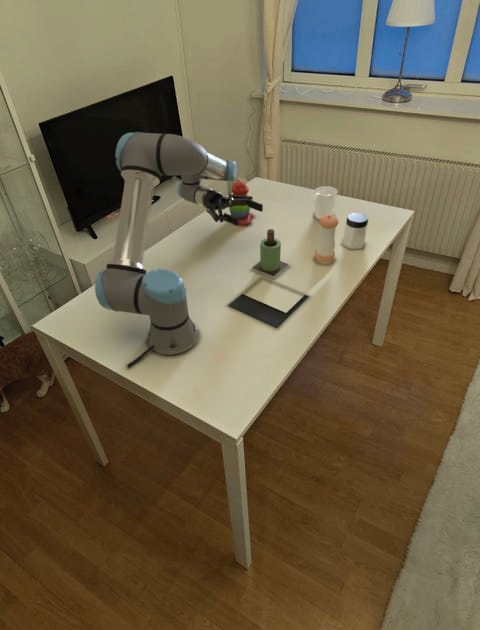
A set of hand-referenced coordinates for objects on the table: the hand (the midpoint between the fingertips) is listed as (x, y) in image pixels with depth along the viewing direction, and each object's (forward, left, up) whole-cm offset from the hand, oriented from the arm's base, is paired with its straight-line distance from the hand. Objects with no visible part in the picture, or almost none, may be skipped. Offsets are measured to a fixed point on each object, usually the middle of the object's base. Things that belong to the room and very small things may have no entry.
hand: (250, 214), depth 158 cm
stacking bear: (+24, +23, -20) cm, 39 cm away
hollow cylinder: (-1, -10, -18) cm, 21 cm away
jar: (+33, -28, -20) cm, 48 cm away
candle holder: (+48, -6, -20) cm, 52 cm away
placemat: (-18, -21, -19) cm, 34 cm away
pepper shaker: (+16, -24, -20) cm, 35 cm away
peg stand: (-1, -10, -19) cm, 22 cm away
